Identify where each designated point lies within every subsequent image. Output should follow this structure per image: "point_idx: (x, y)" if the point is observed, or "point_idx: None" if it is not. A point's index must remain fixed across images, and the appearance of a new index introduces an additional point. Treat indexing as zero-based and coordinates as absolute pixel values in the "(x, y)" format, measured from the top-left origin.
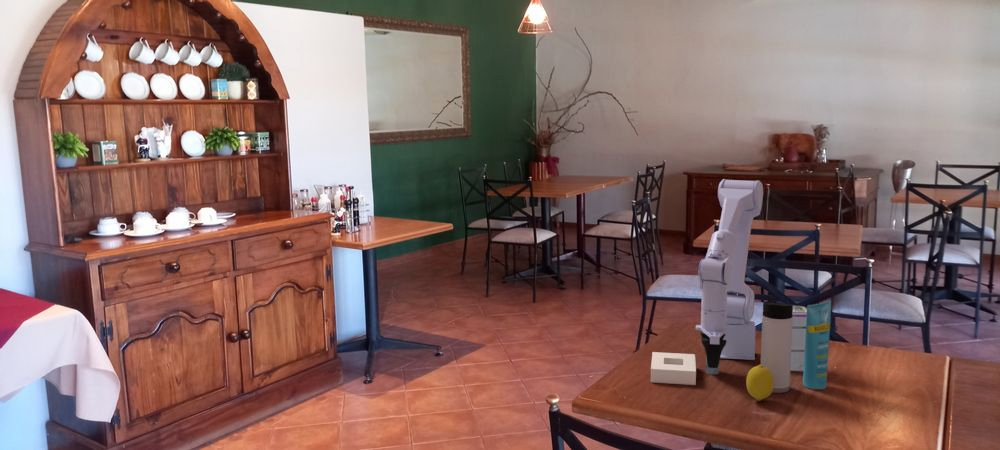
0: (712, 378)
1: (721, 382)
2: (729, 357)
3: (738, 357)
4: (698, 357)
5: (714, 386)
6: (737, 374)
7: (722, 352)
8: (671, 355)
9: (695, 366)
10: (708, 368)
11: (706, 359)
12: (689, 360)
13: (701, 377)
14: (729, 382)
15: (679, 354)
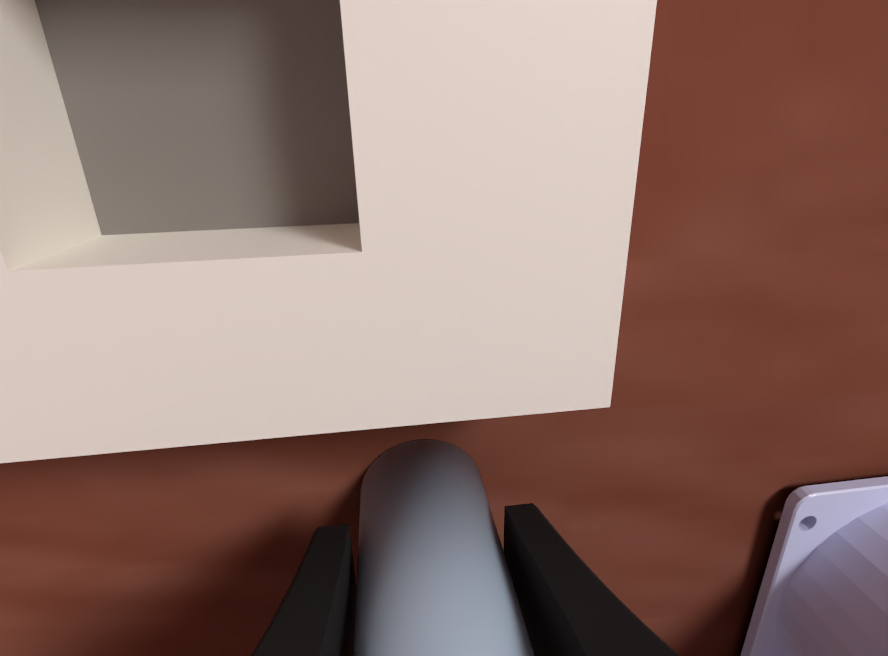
0: (254, 503)
1: (173, 573)
2: (769, 589)
3: (759, 641)
4: (832, 351)
5: (28, 535)
6: None
7: (843, 566)
8: (510, 21)
9: (41, 456)
10: (369, 502)
11: (408, 552)
12: (308, 355)
13: None
14: (201, 622)
15: (583, 181)
